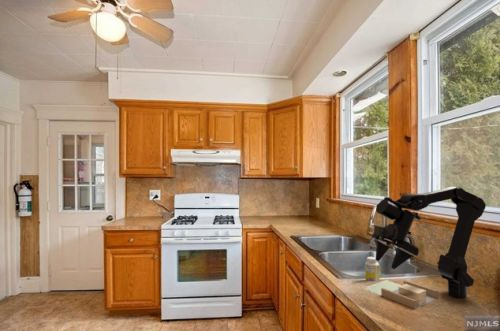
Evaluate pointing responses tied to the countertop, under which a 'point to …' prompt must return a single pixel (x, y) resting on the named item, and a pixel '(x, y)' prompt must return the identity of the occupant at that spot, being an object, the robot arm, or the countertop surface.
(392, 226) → the robot arm
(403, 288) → the block
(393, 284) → the board
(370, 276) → the supplement bottle
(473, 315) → the countertop surface
